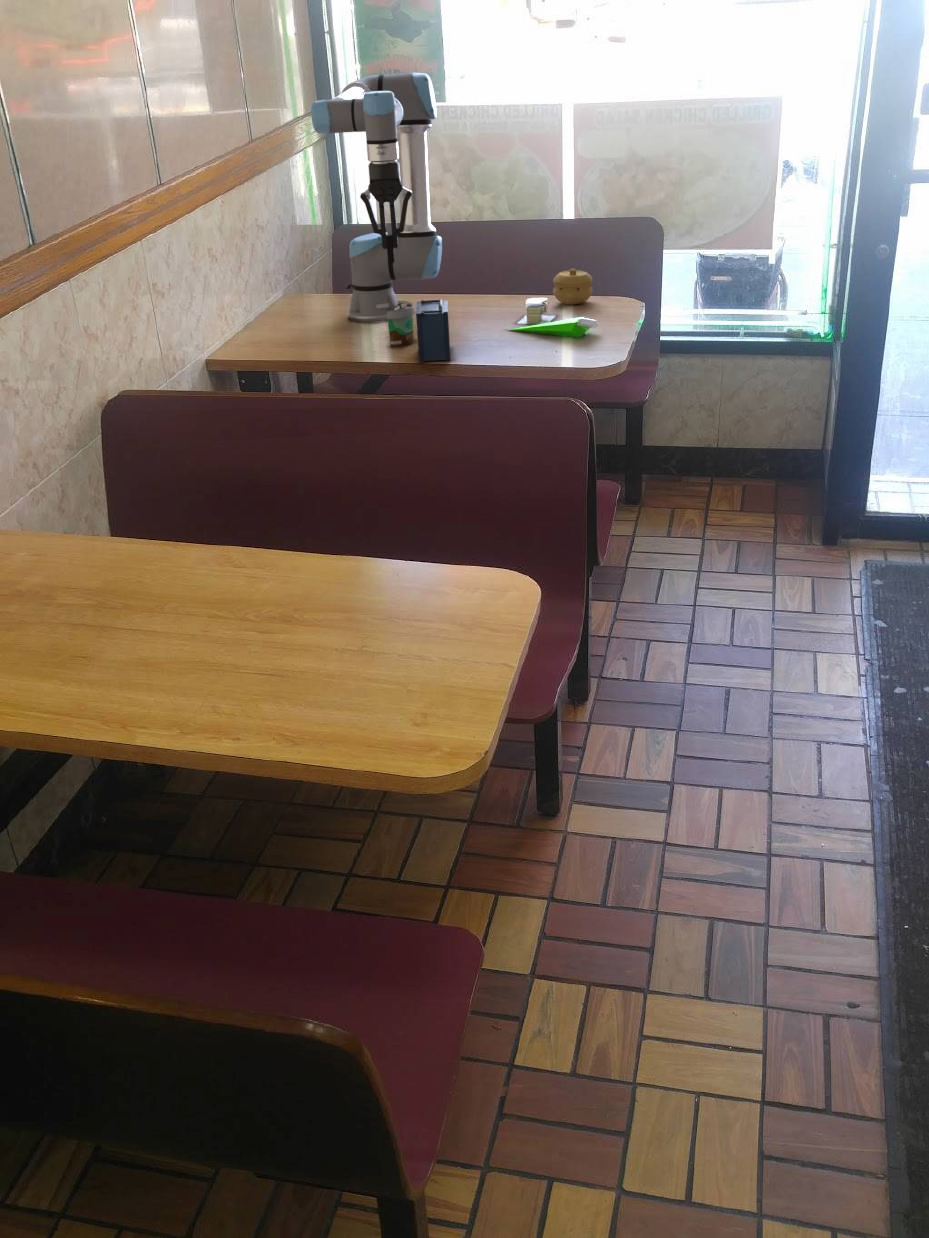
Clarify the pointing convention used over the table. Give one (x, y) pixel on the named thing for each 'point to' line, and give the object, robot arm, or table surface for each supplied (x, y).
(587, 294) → the pot
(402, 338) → the food container
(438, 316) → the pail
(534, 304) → the stacked layers on plate
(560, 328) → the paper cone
